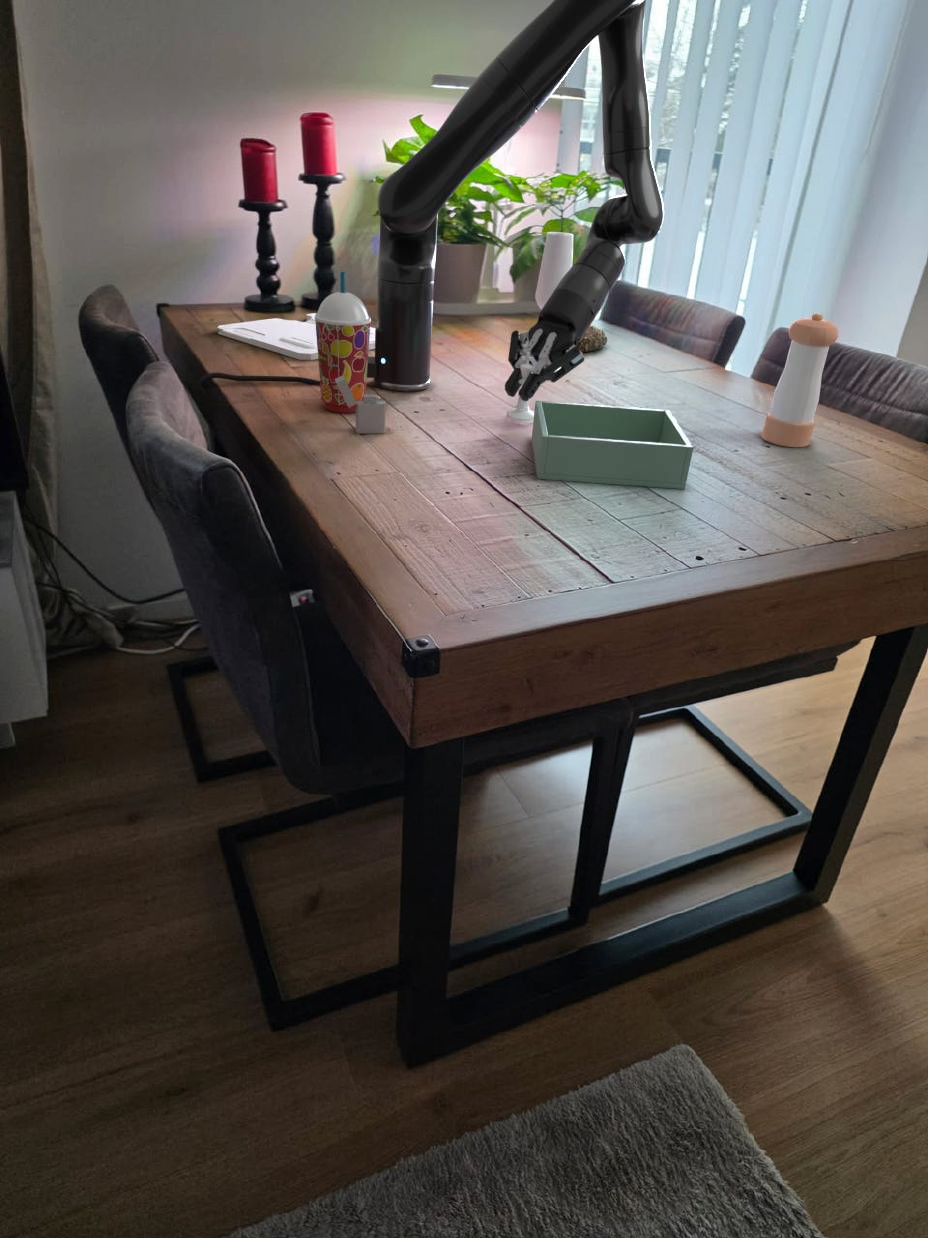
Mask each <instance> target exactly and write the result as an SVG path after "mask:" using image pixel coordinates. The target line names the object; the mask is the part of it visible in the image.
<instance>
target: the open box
mask: <svg viewBox="0 0 928 1238" xmlns="http://www.w3.org/2000/svg"><path fill="white" fill-rule="evenodd" d="M533 412H534V420H533V422H532V429H531V445H532V446H531V447H532V452H533V458H534V465H535V470H536V478H537V479H538V480H548V481H561V482H562V481H564V482H575V483H576V482H577V483H590V484H603V485H604V484H605V485H617V486H618V485H621V486H631V487H632V486H634V487H646V488H661V489H676V490H685V489H686V487H687V486H686V485H687V481H688V475H689V472H690V466H691V462H692V457H693V452H694V446H693V444H692V443H691V441H690V440H689V437H687V435H686V434H685V432H684V431H683V429H682V428H681V426H680V424H679V422H678V421H677V420H676V418H675V417H674V414H672V412H671V411H670V410H669V409H659V408H658V409H657V408H656V409H655V408H645V407H644V408H643V407H641V408H640V407H629V406H615V405H604V404H603V405H601V404H589V403H575V402H562V401H547V400H546V401H545V400H535V403H534V411H533Z"/></svg>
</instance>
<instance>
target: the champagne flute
mask: <svg viewBox="0 0 928 1238" xmlns="http://www.w3.org/2000/svg"><path fill="white" fill-rule="evenodd" d="M573 256H574V233H570V232H561V231H547V233H546V237H545V244H544V248H543V252H542V259H541V263H540V268H539V273H538V278H537V284H536V289H535V294H534V299H535V301H536V304H537V306H538V308H539V309H540V311H541V310H542V308H543V307H544V305H545V304H546V302H547V301H548V299H549V298H550V296H551V295H552V293H553V292H554V290H555V288H556V287H557V285H558V284H559V282H560V281H561V279H562V278H563V277H564V275H565V274H566V273H567V272H568V271H569V270H570V268H571V267H572V266H573V263H574V262H573V261H574V260H573V258H574V257H573ZM534 368H535V367H534ZM534 368H533V370H534ZM560 368H561V367H560ZM560 368H558V369H557V370H556V371H558V370H559V369H560ZM556 371H555V372H556Z"/></svg>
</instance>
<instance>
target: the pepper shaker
mask: <svg viewBox="0 0 928 1238" xmlns="http://www.w3.org/2000/svg"><path fill="white" fill-rule="evenodd" d="M788 338H789V339H790V340H791V341H790V346H789V350H788V353H787V357H786V361H785V365H784V368H783V371H782V373H781V375H780V378H779V380H778V383H777V385H776V388H775V389H774V393H773V397H772V402H771V406H770V411H769V412H768V413H767V414H766V415H765V421H764V424H763V428H762V432H761V438H762V439H763V440H764V441H766V442H768V443H770V444H773V445H777V446H781V447H787V448H805V447H807V446H809V445H810V443H811V438H812V435H813V431H814V427H815V420H814V418H815V415H816V411H817V407H818V404H819V401H820V395H821V386H822V377H823V372H824V369H825V364H826V361H827V357H828V353H829V349H830V346H832V345H834V344H835V342H836V341H837V340H838V338H839V331H838V328H837V326H836V325H835V324H834V323H833V322H831V321H829V320H826V319H824V316H823V314H821V313H813V314H812V315H811V317H802V318H800V319H796V320H795V321H794V322H793V323H791V325H790V327H789V328H788Z"/></svg>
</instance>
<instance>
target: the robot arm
mask: <svg viewBox="0 0 928 1238" xmlns="http://www.w3.org/2000/svg"><path fill="white" fill-rule="evenodd" d="M646 4H647V0H552V1H551V2H550V4H548V5H547V7H545V8H544V10H542V11H541V12H540V13H539V14H538V15H537V16H536V17H534V19H533V20H531V21H530V22H529V23H528V24H527V25H526V26H525V27H524V28H523V29H522V30H521V31H520V32H519V33H518V34H517V35H516V36H515V37H514V38H513V39H511V41H510V42H509V43H508V44H507V45H506V46H505V47H504V48H503V49H502V50H501V51H500V52H499V53H498V54H497V55H496V56H495V57H494V59H493V60H491V62H490V63H489V64H488V65H487V66H486V67H485V68H484V69H483V70H482V71H481V73H480V74H478V76H477V77H476V78H475V79H474V81H473V82H472V84H470V86H469V87H468V89H467V90H466V91H465V92H464V94H463V95H462V96H461V97H460V99H459V101H458V102H457V103H456V105H455V106H454V107H453V108H452V110H451V112H450V113H449V114H448V116H447V117H446V119H445V120H444V122H443V124H442V125H441V127H439V129H438V130H437V131H436V133H435V134H434V135H433V136H432V137H431V138H430V139H429V140H428V141H427V143H426V144H425V145H423V147H422V148H420V149H419V150H418V151H417V152H416V153H415V154H414V155H413V156H412V157H411V158H409V160H407V161H406V162H405V163H404V164H403V165H401V166H400V167H399V168H397V170H396V171H394V172H392V173H391V174H389V175H388V176H387V177H386V178H385V179H384V181H383V182H382V183H381V186H380V188H379V190H378V194H377V210H378V211H377V212H378V214H379V244H378V256H377V257H378V258H377V294H376V296H377V298H376V300H377V302H376V328H375V329H376V330H375V349H374V356H369V355H368V366H367V378H369V379H373V380H374V381H373V385H374V386H373V387H375V388H383V389H385V390H389V391H390V390H391V391H396V392H417V391H423V390H427V389H428V388H430V386H431V385H430V384H431V379H430V378H431V357H432V353H431V352H432V335H433V333H432V332H433V315H434V314H433V313H434V292H435V272H436V258H437V236H438V219H439V217H438V215H439V213H440V211H441V210H442V209H443V207H444V206H445V205H446V203H447V202H448V201H449V200H450V198H451V197H452V195H453V194H454V193H455V192H456V191H457V189H458V188H459V187H460V186H461V184H462V183H463V182H465V180H466V179H467V178H468V177H469V176H470V175H471V174H472V173H473V172H474V171H475V170H476V169H477V168H478V167H480V166H481V165H482V164H484V163H485V162H486V161H487V160H489V159H490V158H491V157H492V156H493V155H494V154H495V153H496V152H498V151H499V150H500V149H501V148H502V147H504V146H505V144H506V143H508V142H509V141H510V140H511V139H512V138H513V137H514V136H515V135H516V134H517V133H519V131H520V130H521V129H522V128H523V127H524V126H525V125H526V124H527V123H528V122H529V121H530V120H531V118H533V117H534V115H536V113H537V112H538V111H539V110H540V109H541V108H542V107H543V105H545V103H546V102H547V101H548V100H549V99H550V97H551V96H552V95H553V93H554V92H555V91H556V89H557V88H558V87H559V85H560V84H561V82H562V81H563V80H564V79H565V77H566V76H567V75H568V73H569V72H570V70H571V69H572V67H573V66H574V65H575V63H576V62H577V60H578V59H579V57H580V56H581V55H582V53H583V52H584V51H585V49H586V48H587V47H588V46H589V45H590V44H591V43H592V42H593V41H594V40H595V39H596V37H597V38H598V44H599V55H600V67H601V103H602V104H601V109H602V110H601V116H602V117H601V118H602V121H601V122H602V146H603V147H602V148H603V165H604V171H605V173H606V175H607V176H608V177H610V178H613V179H619V180H621V183H622V184H623V188H624V190H625V194H622V195H615V196H613V197H610V198H608V199H607V200H605V202H603V203H602V205H601V206H599V208H598V209H597V211H596V213H595V215H594V217H593V220H592V223H591V226H590V229H589V231H588V234H587V237H586V240H585V245H584V247H583V249H582V250H581V252H580V253H579V255H578V256H577V258H576V259H575V261H574V262H573V263H572V267H571V268H570V270H569V271H568V272H567V273H566V274H565V275H564V277H563V278H562V279H561V281H560V282H559V284H558V285H557V287H556V288H555V290H554V292H553V293H552V295H551V296H550V298H549V299H548V301H547V302H546V304H545V305H544V307H543V308H542V310H541V309H540V311H539V315H538V319H537V322H536V323H535V324H534V325H533V326H531V327H530V328H529V330H528V331H527V332H526V331H525V332H522V333H520V332H519V330H517V329H516V330H513V331H512V332H511V333H510V343H509V350H508V357H507V361H508V363H509V365H510V366H511V367H512V369H513V370H512V372H511V374H510V375H509V377H508V378H507V380H506V381H505V383H504V391H505V392H506V394H507V395H508V397H511V398H514V397H515V396H516V394H517V393H518V396H519V397H520V398H521V399H522V400H523V401H528V402H529V400H531V398H533V397H534V396H535V394H536V393H537V391H538V389H539V388H540V387H541V385H542V384H544V383H546V381H547V382H548V381H550V382H551V383H556V382H558V381H559V380H560V379H562V378H563V377H564V376H566V375H567V374H568V373H570V372H571V371H573V370H574V369H576V368H577V367H578V366H579V365H581V364H583V363H584V362H585V357H584V354H583V352H581V350H580V349H579V347H577V342H579V341H580V340H581V339H582V337H583V336H584V334H585V333H586V331H587V329H588V328H589V326H590V325H592V324H593V322H594V320H595V318H596V317H597V316H598V314H599V312H600V311H601V309H602V308H603V306H604V304H605V302H606V300H607V298H608V297H609V296H608V295H609V294H610V292H611V291H612V290H613V287H614V286H615V284H616V283H617V281H618V280H619V278H620V277H621V275H622V273H623V272H624V270H625V267H626V256H625V253H624V252H623V250H622V249H621V246H623V245H633V244H645V243H649V242H651V241H653V240H654V239H655V238H656V237H657V236H658V235H659V233H660V231H661V228H662V226H663V222H664V216H665V210H664V202H663V197H662V194H661V190H660V186H659V183H658V179H657V174H656V171H655V168H654V164H653V161H652V149H651V148H652V139H651V137H652V136H651V132H652V131H651V112H650V102H649V92H648V85H647V79H646V78H647V77H646V71H645V70H646V69H645V62H644V61H645V60H644V25H645V24H644V23H645V15H646V6H647V5H646ZM527 352H529V353H530V357H534V360H533V361H529V364H530V365H532V366H533V367H535V368H534V370H533V371H532V372H533V373H530V375H529V376H528V378H527V379H526V381H525V382H524V384H523V386H522V384H520V383H518V381H519V380H520V379H522V373H521V368H520V366H521V365H522V364H525V363H526V360H522V356H527ZM558 368H560V369H559V370H558V371H556V370H557V369H558ZM555 371H556V372H555ZM212 379H223V380H229V381H235V382H278V383H279V382H280V383H300V384H305V385H306V384H307V385H310V386H311V385H312V386H320V380H318V379H312V378H308V377H302V376H291V375H290V376H289V375H287V376H286V375H238V374H230V373H226V372H216V371H215V372H210V373H207V374H205V375H203V376H201V378H199V379H198V380H197V382H196V385H204V384H205V383H207V382H208V381H209V380H212Z"/></svg>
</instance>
